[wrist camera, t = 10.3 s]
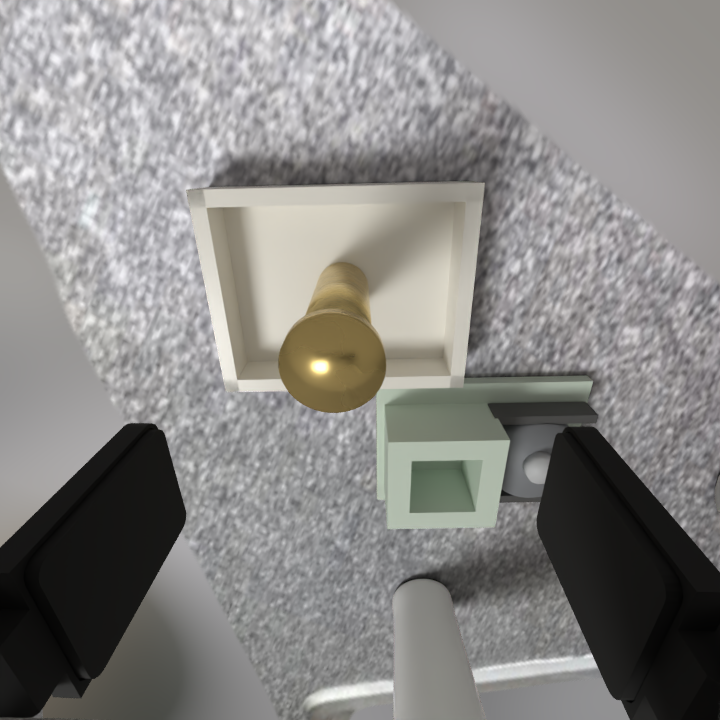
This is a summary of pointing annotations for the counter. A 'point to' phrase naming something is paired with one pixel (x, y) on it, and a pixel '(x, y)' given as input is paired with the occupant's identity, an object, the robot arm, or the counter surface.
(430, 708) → the drinking glass
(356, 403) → the pin
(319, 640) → the counter surface
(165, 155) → the counter surface
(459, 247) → the tray
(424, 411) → the green socket holder
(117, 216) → the counter surface
